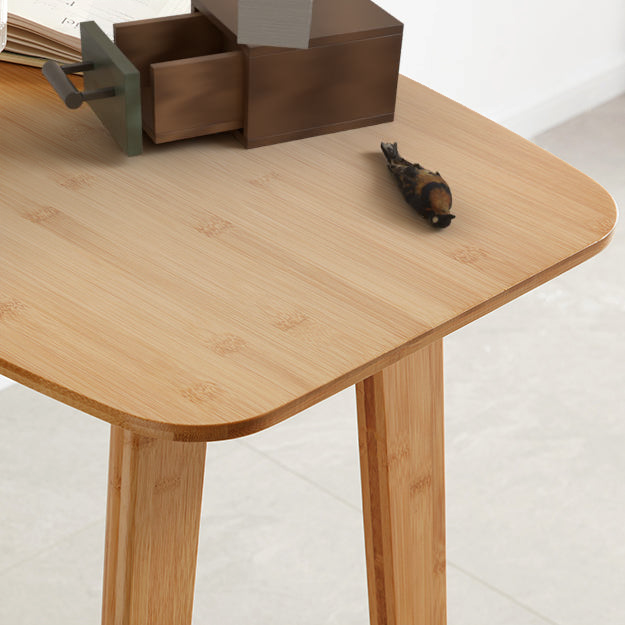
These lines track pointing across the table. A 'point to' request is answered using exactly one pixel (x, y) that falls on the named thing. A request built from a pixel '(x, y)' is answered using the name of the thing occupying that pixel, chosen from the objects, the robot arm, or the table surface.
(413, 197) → the bird model
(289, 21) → the steel tin
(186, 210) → the table surface
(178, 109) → the drawer
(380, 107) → the cabinet
